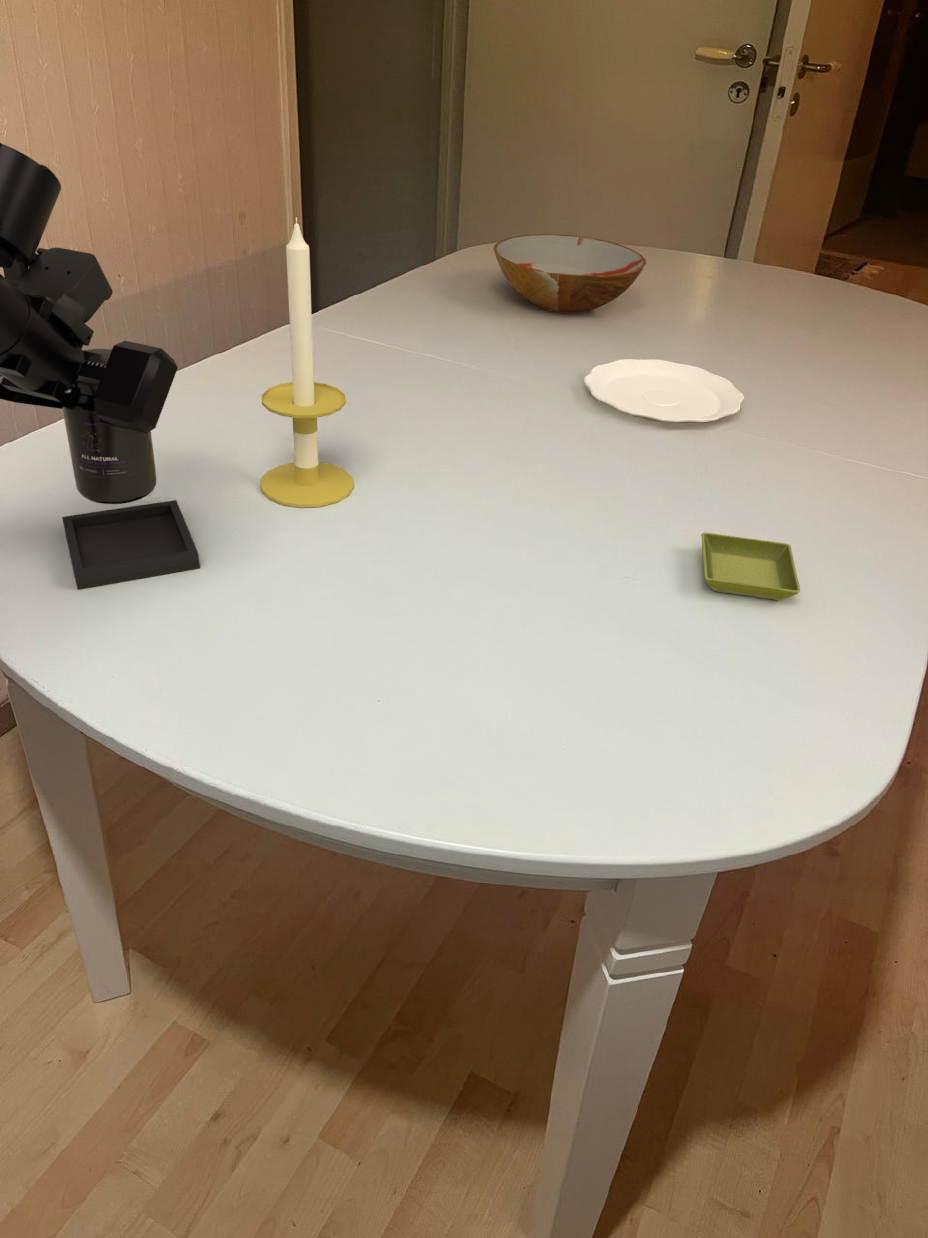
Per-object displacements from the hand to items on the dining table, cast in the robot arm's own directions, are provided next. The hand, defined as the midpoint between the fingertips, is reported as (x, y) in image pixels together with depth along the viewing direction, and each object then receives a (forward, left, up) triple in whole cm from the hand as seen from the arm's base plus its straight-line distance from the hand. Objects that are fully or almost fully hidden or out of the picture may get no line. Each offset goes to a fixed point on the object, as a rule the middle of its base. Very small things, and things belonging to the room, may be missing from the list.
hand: (117, 413), depth 80 cm
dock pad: (-1, -1, -13) cm, 13 cm away
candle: (+17, +9, -13) cm, 23 cm away
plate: (+67, +25, -13) cm, 73 cm away
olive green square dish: (+55, -17, -13) cm, 59 cm away
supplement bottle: (-1, -1, -7) cm, 7 cm away
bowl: (+69, +66, -13) cm, 96 cm away
